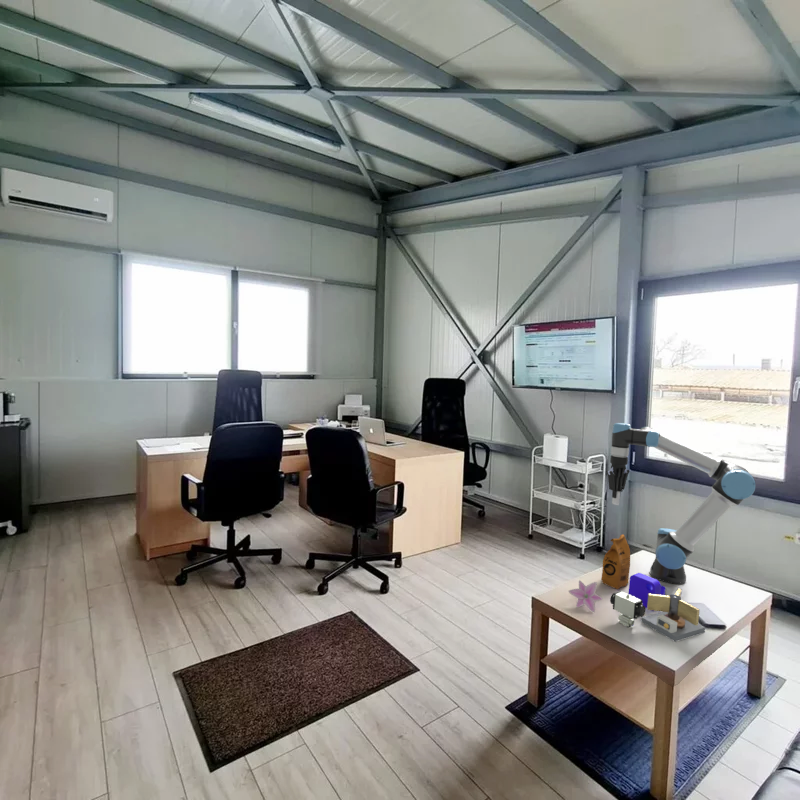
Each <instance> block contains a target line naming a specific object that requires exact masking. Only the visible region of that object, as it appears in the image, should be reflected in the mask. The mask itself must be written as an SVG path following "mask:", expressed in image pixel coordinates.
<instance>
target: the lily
mask: <svg viewBox="0 0 800 800" xmlns="http://www.w3.org/2000/svg"><path fill="white" fill-rule="evenodd" d="M597 584H598V583H597V581H594V582H591V583H590V584H587V585H586V584H585V583H584V582H583V581H581V580H580V579H579V580H578V588H572V589H570V590H568V594H570V595H571V596H573V597H575V598H576V599H577V601H576V608H577V607H578V608H580V607H583V606H584V605H585V607H586V608H587V609H588V610H589V611H590V612H591V613H593V612H594V613H595V610H596V609H595V608H596V607H595V602H599V601H602V600H603V598H602V597H601V596H600V595H598V594H596V591H597V586H598V585H597Z"/></svg>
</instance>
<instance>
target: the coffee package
mask: <svg viewBox="0 0 800 800" xmlns="http://www.w3.org/2000/svg"><path fill="white" fill-rule="evenodd" d="M610 542H612V543H613V544H612V545H611V546H610V549H609V550H608V551H607V552H606V553H605V555H604V557H603V559H602V570H601V571H602V572H601V578H600V579H601V582H602V584H604V585H606V586H608V587H611V588H612V589H616V590H620V588H622V587H626V586H627V585H629V581H630V577H629V576H630V569H631V548H630V545H629V544H628V541H627V539H626V536H625V534H620V535H619V537H618V538H611V539H610Z"/></svg>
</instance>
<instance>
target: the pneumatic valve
mask: <svg viewBox="0 0 800 800" xmlns="http://www.w3.org/2000/svg"><path fill="white" fill-rule="evenodd" d="M609 599H610V600H609V602H610V604H611V605H612V610H615V611H616V612H618V613H620V614H618V616H617V619H618V620H619V621H618V623H619V624H620V625H622V626H625V627H627V628H630V626H631V627H632V626H634V624H635V620H637V619H639V618H642V617H644V616H645V614H646V608H645V606H643V603H642V600H640V599H638V598H635V596H631V595H630V594H629V595H628V593H626V592H624V591H621V590H619V591H617V592H613V593H612V594H611V595H610V598H609Z"/></svg>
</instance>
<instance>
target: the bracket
mask: <svg viewBox="0 0 800 800" xmlns="http://www.w3.org/2000/svg"><path fill="white" fill-rule="evenodd" d="M627 594H628V595H629V594H630V595H631V596H635V598H638V599H640V600H642V603H643V606H645V609H647V603H648V594H657V595H666V587H665V586H664V585H662V584H661V582H660V580H659V579H656V578H655V577H651V576H649V575H647V574H644V573H641V572H637V573H635V574H632V575H630V577H629V580H628V593H627ZM651 611H652V612H654V611H653V610H651Z"/></svg>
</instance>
